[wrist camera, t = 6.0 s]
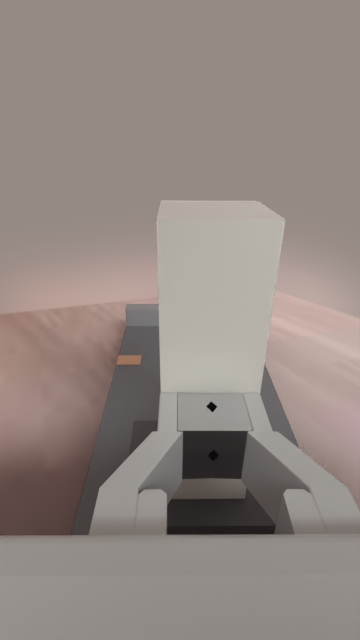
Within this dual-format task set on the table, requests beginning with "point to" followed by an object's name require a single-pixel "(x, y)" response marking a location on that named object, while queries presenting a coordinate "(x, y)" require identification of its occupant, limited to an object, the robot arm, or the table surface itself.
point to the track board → (142, 405)
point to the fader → (214, 335)
